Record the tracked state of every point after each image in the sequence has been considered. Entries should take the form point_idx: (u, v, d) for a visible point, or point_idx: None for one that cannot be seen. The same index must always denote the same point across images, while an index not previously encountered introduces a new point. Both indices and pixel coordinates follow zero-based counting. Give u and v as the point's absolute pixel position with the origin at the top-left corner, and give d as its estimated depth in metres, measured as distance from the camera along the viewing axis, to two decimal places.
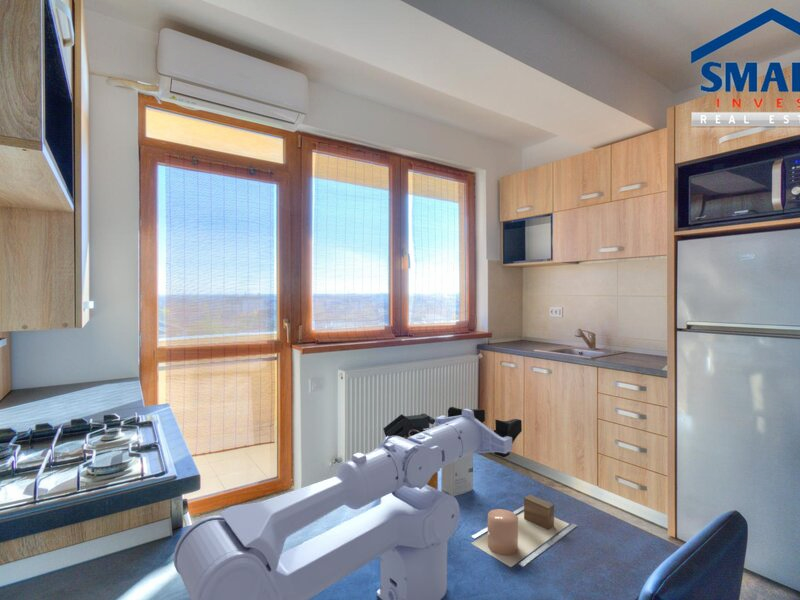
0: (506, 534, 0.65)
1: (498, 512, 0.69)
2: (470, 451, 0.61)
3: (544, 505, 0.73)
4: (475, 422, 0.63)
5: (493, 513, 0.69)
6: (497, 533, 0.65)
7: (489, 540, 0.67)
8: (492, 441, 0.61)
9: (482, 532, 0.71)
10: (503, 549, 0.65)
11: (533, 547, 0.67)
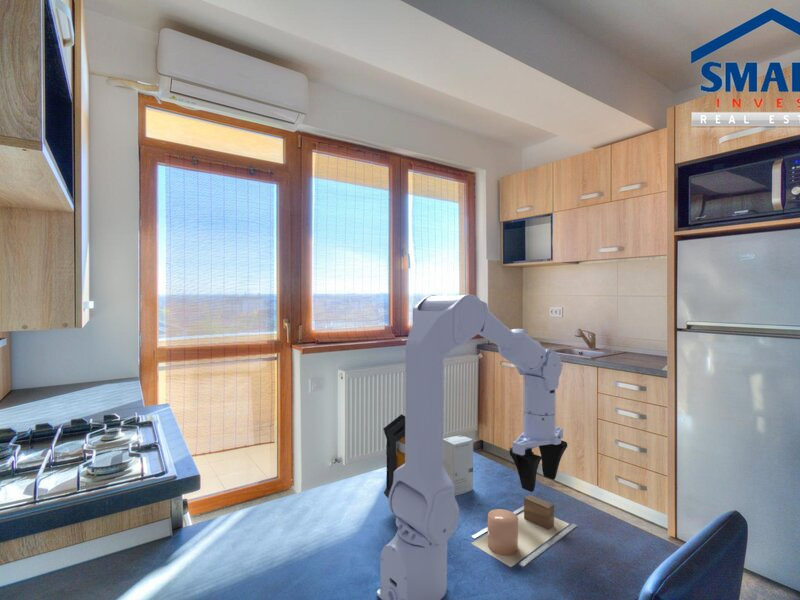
0: (506, 534, 0.65)
1: (498, 512, 0.69)
2: (525, 423, 0.75)
3: (544, 505, 0.73)
4: (545, 440, 0.72)
5: (493, 513, 0.69)
6: (497, 533, 0.65)
7: (489, 540, 0.67)
8: (525, 441, 0.72)
9: (482, 532, 0.71)
10: (503, 549, 0.65)
11: (533, 547, 0.67)
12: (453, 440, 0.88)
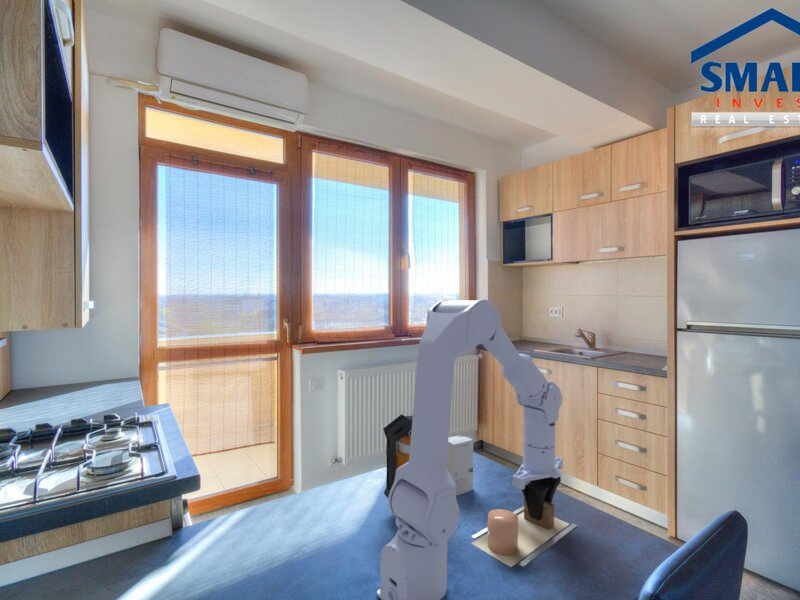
0: (506, 534, 0.65)
1: (498, 512, 0.69)
2: (525, 455, 0.75)
3: (544, 505, 0.73)
4: (545, 473, 0.72)
5: (493, 513, 0.69)
6: (497, 533, 0.65)
7: (489, 540, 0.67)
8: (525, 474, 0.72)
9: (482, 532, 0.71)
10: (503, 549, 0.65)
11: (533, 547, 0.67)
12: (453, 440, 0.88)
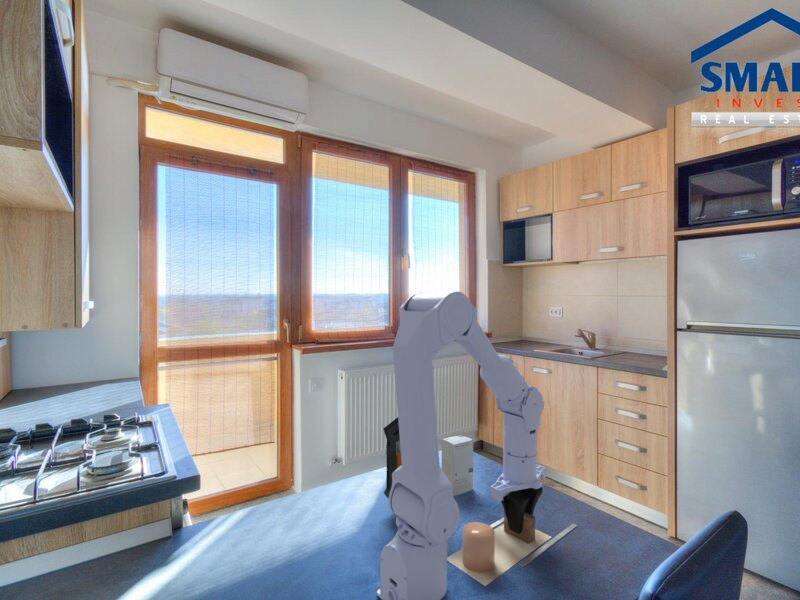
0: (481, 550, 0.61)
1: (474, 525, 0.65)
2: (504, 464, 0.70)
3: (524, 517, 0.69)
4: (525, 484, 0.68)
5: (469, 527, 0.64)
6: (472, 549, 0.61)
7: (464, 556, 0.63)
8: (504, 485, 0.68)
9: None
10: (478, 566, 0.61)
11: (511, 564, 0.63)
12: (453, 440, 0.88)
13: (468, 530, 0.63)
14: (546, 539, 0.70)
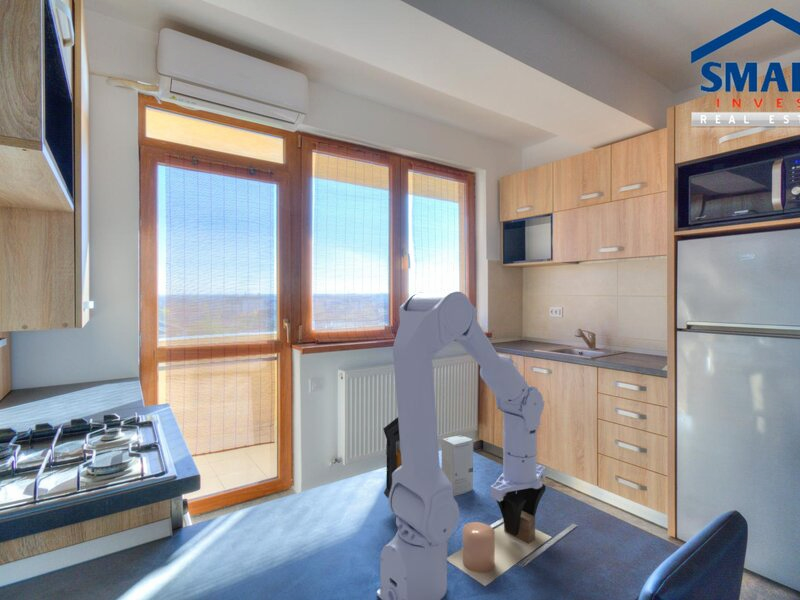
0: (481, 550, 0.61)
1: (474, 525, 0.65)
2: (504, 464, 0.70)
3: (524, 517, 0.69)
4: (526, 484, 0.68)
5: (469, 527, 0.64)
6: (472, 549, 0.61)
7: (464, 556, 0.63)
8: (504, 485, 0.68)
9: None
10: (478, 566, 0.61)
11: (511, 564, 0.63)
12: (453, 440, 0.88)
13: (468, 530, 0.63)
14: (546, 539, 0.70)
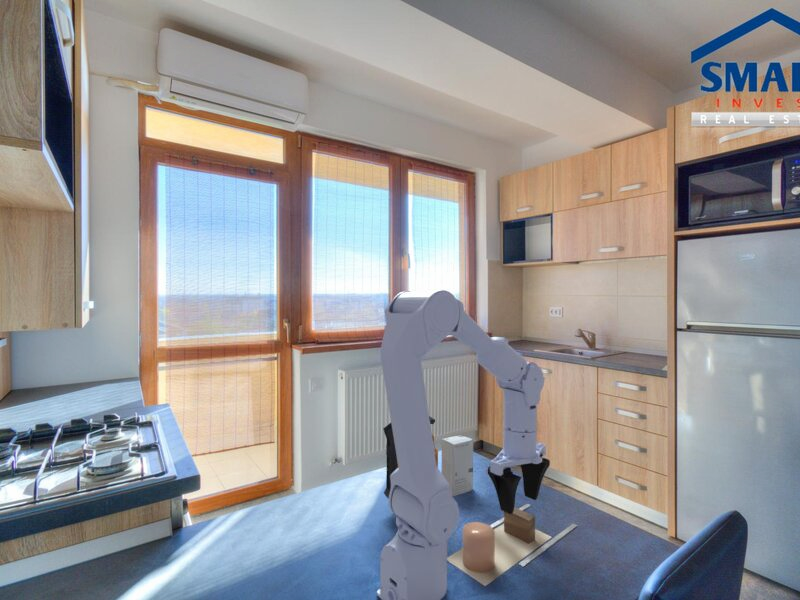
0: (481, 550, 0.61)
1: (474, 525, 0.65)
2: (505, 440, 0.70)
3: (524, 517, 0.69)
4: (526, 459, 0.68)
5: (469, 527, 0.64)
6: (472, 549, 0.61)
7: (464, 556, 0.63)
8: (504, 460, 0.68)
9: None
10: (478, 566, 0.61)
11: (511, 564, 0.63)
12: (453, 440, 0.88)
13: (468, 530, 0.63)
14: (546, 539, 0.70)
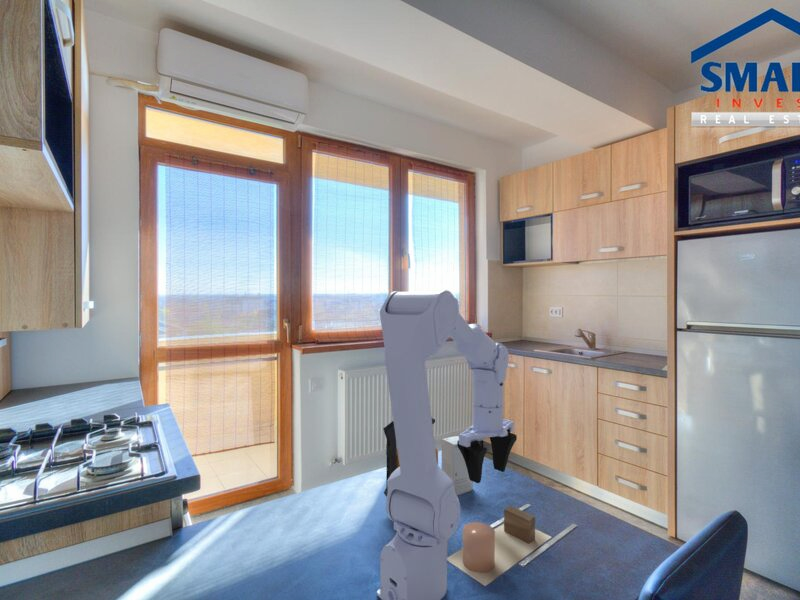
0: (481, 550, 0.61)
1: (475, 525, 0.65)
2: (473, 416, 0.76)
3: (524, 517, 0.69)
4: (492, 432, 0.73)
5: (469, 527, 0.64)
6: (472, 549, 0.61)
7: (464, 556, 0.63)
8: (472, 433, 0.73)
9: None
10: (478, 566, 0.61)
11: (511, 564, 0.63)
12: (453, 440, 0.88)
13: (468, 530, 0.63)
14: (546, 539, 0.70)
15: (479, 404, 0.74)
